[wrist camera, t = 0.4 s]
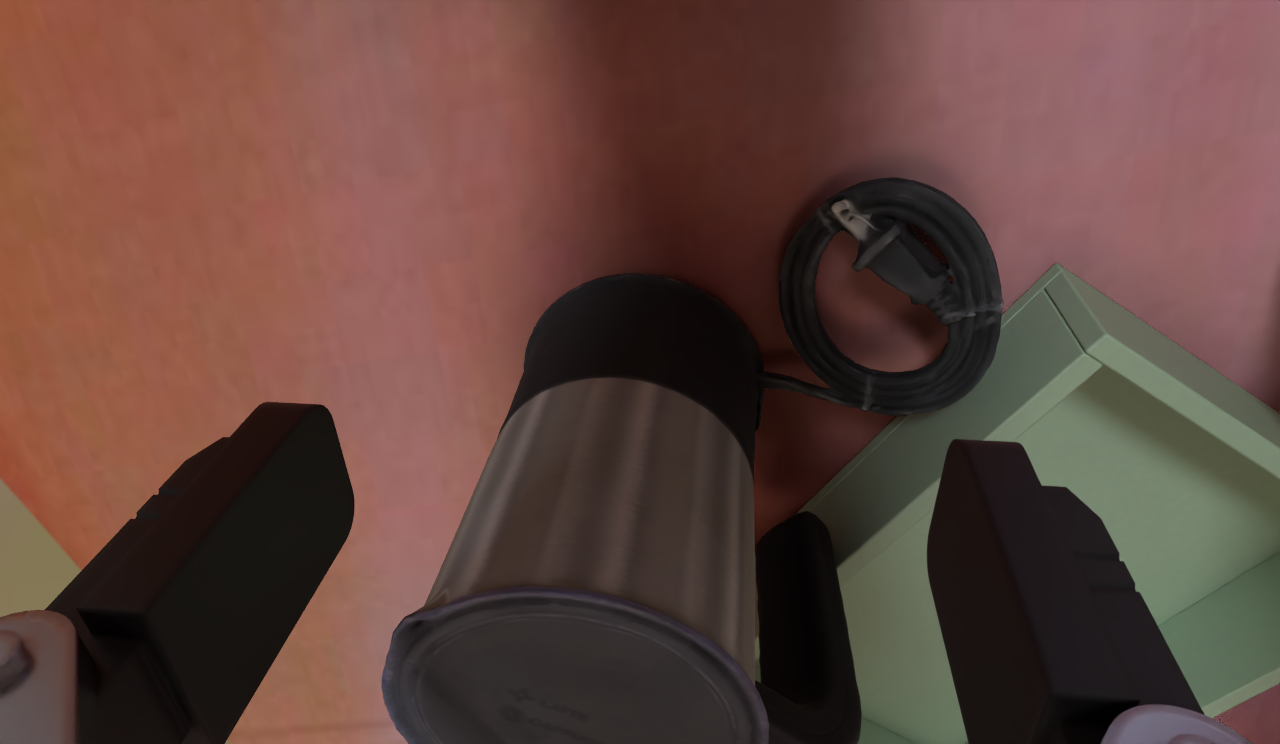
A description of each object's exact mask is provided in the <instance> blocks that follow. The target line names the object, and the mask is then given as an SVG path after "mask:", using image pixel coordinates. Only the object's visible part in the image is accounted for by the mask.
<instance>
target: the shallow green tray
mask: <svg viewBox="0 0 1280 744" xmlns="http://www.w3.org/2000/svg"><path fill="white" fill-rule="evenodd" d="M954 439H966V440H986V441H1005V442H1019V443H1020V444H1021V445H1022V446H1023V447H1024V449H1025V451H1026V453H1027V455H1028V457H1029V459H1030V461H1031V463H1032V466H1033V468H1034V470H1035V472H1036V474H1037V476H1038V479H1039V481H1040V483H1041V485H1042V486H1058V487H1067V488H1068V489H1069V490H1070V491H1071V492H1072V493H1074V494H1075V495H1076V496H1077V497H1078V498H1079V499H1080V500H1081V501H1082V502H1083V503H1085V504H1086V505H1087V506H1088V507H1089V508H1090V509H1091V510H1092V511H1093V512H1094V513H1096V514H1097V515H1098V516H1099V517H1100V518H1101V519H1102V521H1103V523H1104V525H1105V527H1106V529H1107V531H1108V533H1109V535H1110V536H1111V538H1112V540H1113V542H1114V544H1115V546H1116V548H1117V550H1118V552H1119V554H1120V555H1119V559H1120V561H1124V563H1125V565H1126V567H1127V569H1128V571H1129V572H1130V574H1131V576H1132V578H1133V580H1134V582H1135V590H1136V592H1140V593H1141V595H1142V597H1143V599H1144V601H1145V603H1146V605H1147V607H1148V608H1149V610H1150V612H1151V614H1152V616H1153V618H1154V620H1155V622H1156V624H1157V626H1158V627H1159V629H1160V631H1161V633H1162V635H1163V637H1164V639H1165V641H1166V643H1167V644H1168V646H1169V648H1170V650H1171V652H1172V654H1173V656H1174V658H1175V660H1176V662H1177V663H1178V665H1179V667H1180V669H1181V671H1182V673H1183V675H1184V677H1185V679H1186V681H1187V682H1188V684H1189V686H1190V688H1191V690H1192V692H1193V694H1194V696H1195V698H1196V699H1197V701H1198V703H1199V705H1200V707H1201V709H1202V710H1203V712H1204V714H1205V715H1206V716H1208V717H1210V718H1213V717H1215V716H1217V715H1219V714H1221V713H1223V712H1225V711H1227V710H1229V709H1231V708H1233V707H1235V706H1237V705H1239V704H1240V703H1242V702H1244V701H1246V700H1248V699H1250V698H1252V697H1254V696H1256V695H1258V694H1260V693H1262V692H1264V691H1266V690H1268V689H1270V688H1271V687H1273V686H1275V685H1277V684H1279V683H1280V414H1279V413H1278V412H1276V411H1275V410H1274V409H1272V408H1271V407H1269V406H1268V405H1266V404H1265V403H1263V402H1262V401H1260V400H1259V399H1257V398H1256V397H1254V396H1253V395H1251V394H1250V393H1248V392H1247V391H1245V390H1244V389H1243V388H1241V387H1240V386H1238V385H1237V384H1235V383H1234V382H1232V381H1231V380H1229V379H1228V378H1226V377H1225V376H1223V375H1222V374H1220V373H1219V372H1217V371H1216V370H1214V369H1213V368H1212V367H1210V366H1209V365H1207V364H1206V363H1204V362H1203V361H1201V360H1200V359H1198V358H1197V357H1195V356H1194V355H1192V354H1191V353H1189V352H1188V351H1186V350H1185V349H1183V348H1182V347H1181V346H1179V345H1178V344H1176V343H1175V342H1173V341H1172V340H1170V339H1169V338H1167V337H1166V336H1164V335H1163V334H1161V333H1160V332H1158V331H1157V330H1155V329H1154V328H1152V327H1151V326H1150V325H1148V324H1147V323H1145V322H1144V321H1142V320H1141V319H1139V318H1138V317H1136V316H1135V315H1133V314H1132V313H1130V312H1129V311H1127V310H1126V309H1124V308H1123V307H1122V306H1120V305H1119V304H1117V303H1116V302H1114V301H1113V300H1111V299H1110V298H1108V297H1107V296H1105V295H1104V294H1102V293H1101V292H1099V291H1098V290H1096V289H1095V288H1093V287H1092V286H1091V285H1089V284H1088V283H1086V282H1085V281H1083V280H1082V279H1080V278H1079V277H1077V276H1076V275H1074V274H1073V273H1071V272H1070V271H1068V270H1067V269H1065V268H1064V267H1062V266H1061V265H1060V264H1057V263H1056V264H1054V265H1053V266H1052V267H1051V268H1050V269H1049V270H1048V271H1047V272H1046V273H1045V274H1044V275H1043V276H1042V277H1041V278H1040V279H1039V280H1038V281H1037V282H1036V283H1035V284H1034V285H1033V286H1032V287H1031V288H1030V289H1028V290H1027V291H1026V292H1025V293H1024V294H1023V295H1022V296H1021V297H1020V298H1019V299H1018V300H1017V301H1016V302H1015V303H1014V304H1013V305H1012V306H1011V307H1010V308H1009V309H1008V310H1007V311H1006V312H1005V313H1004V314H1003V315H1002V317H1001V329H1000V337H999V340H998V344H997V348H996V353H995V356H994V359H993V361H992V363H991V365H990V367H989V368H988V369H987V370H986V372H985V375H984V376H983V377H982V379H981V380H980V381H979V383H978V384H977V385H976V386H975V387H974V388H973V390H971V391H970V392H969V393H968V394H967V395H965V396H964V397H963V398H961V399H959V400H958V401H956V402H955V403H953V404H951V405H949V406H947V407H945V408H942V409H939V410H935V411H931V412H927V413H921V414H913V415H905V416H897V417H896V418H895V419H893V420H892V421H891V422H890V423H889V424H888V425H887V426H886V427H885V428H884V429H883V430H882V431H881V432H880V433H879V434H878V435H877V436H876V437H875V438H874V439H873V440H872V441H871V442H870V443H869V444H868V445H866V446H865V447H864V448H863V449H862V450H861V451H860V452H859V453H858V454H857V455H856V456H855V457H854V458H853V459H852V460H851V461H850V462H849V463H848V464H847V465H846V466H845V467H844V468H843V469H842V470H841V471H839V472H838V473H837V474H836V475H835V476H834V477H833V478H832V479H831V480H830V481H829V482H828V483H827V484H826V485H825V486H824V487H823V488H822V489H821V490H820V491H819V492H818V493H817V494H816V495H815V496H814V497H812V498H811V499H810V500H809V501H808V502H807V503H806V504H805V505H804V506H803V507H802V508H801V509H800V510H799V511H798V512H797V513H801V512H804V511H809V512H811V513H813V514H815V515H816V516H817V517H818V518H819V519H820V520H821V521H822V522H823V523H824V524H825V525H826V527H827V528H828V531H829V533H830V537H831V541H832V546H833V551H834V556H835V561H836V568H837V573H838V578H839V585H840V590H841V594H842V599H843V605H844V611H845V616H846V621H847V627H848V633H849V639H850V645H851V650H852V655H853V660H854V668H855V675H856V681H857V686H858V690H859V695H860V701H861V711H862V717H861V731H860V739H859V741H858V743H857V744H969V743H968V739H967V735H966V731H965V727H964V723H963V719H962V714H961V710H960V706H959V702H958V698H957V694H956V690H955V686H954V682H953V678H952V673H951V669H950V665H949V661H948V657H947V653H946V649H945V645H944V641H943V637H942V632H941V628H940V624H939V620H938V616H937V612H936V608H935V604H934V600H933V595H932V591H931V587H930V583H929V577H928V569H927V541H928V533H929V528H930V524H931V519H932V515H933V510H934V506H935V502H936V497H937V493H938V489H939V484H940V480H941V475H942V471H943V467H944V462H945V458H946V454H947V450H948V447H949V445H950V443H951V442H952V440H954ZM797 513H796V514H797ZM796 514H795V515H796ZM757 602H758V594H757V586H756V555H755V680H756V681H758V682H761V677H760V664H759V655H760V649H759V637H758V636H759V617H758V611H757Z"/></svg>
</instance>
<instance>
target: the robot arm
mask: <svg viewBox="0 0 1280 744" xmlns="http://www.w3.org/2000/svg"><path fill="white" fill-rule="evenodd" d="M353 517H354V494H353V490H352V486H351V482H350V479H349V475H348V472H347V468H346V464H345V461H344V457H343V454H342V450H341V446H340V443H339V439H338V435H337V432H336V428H335V425H334V421H333V418H332V415H331V413H330V412H329V410H328V409H327V408H326V407H325V406H323V405H318V404H298V403H279V402H265V403H262V404H261V405H259V406H258V407H257V408H256V409H255V410H254V411H253V412H252V413H251V414H250V415H249V417H248V418H247V419H246V420H245V421H244V422H243V423H242V424H241V425H240V426H239V428H238V429H237V430H236V431H235V432H234V433H233V434H232V435H231V436H230V438H229V437H223V438H221V439H219V440H218V441H216V442H215V443H213V444H211V445H210V446H208V447H207V448H205V449H204V450H202V451H200V452H199V453H197V454H196V455H194V456H192V457H191V458H189V459H188V460H186V461H185V462H184V463H183V464H182V465H181V466H180V467H179V468H178V469H177V470H176V471H175V472H174V473H173V475H172V476H171V477H170V478H169V479H168V480H167V481H166V482H165V483H164V484H163V485H162V486H161V487H160V488H159V494H158V495H153V496H152V497H151V498H150V499H149V500H148V501H147V502H146V503H145V504H144V505H143V506H142V507H141V508H140V510H139V511H138V512H137V517H136V519H130V520H129V521H128V522H127V523H126V524H125V525H124V526H123V528H122V529H121V530H120V531H119V532H118V533H117V534H116V535H115V536H114V537H113V538H112V539H111V540H110V541H109V542H108V543H107V545H106V546H105V547H104V548H103V549H102V550H101V551H100V552H99V553H98V554H97V555H96V556H95V557H94V558H93V559H92V560H91V561H90V563H89V564H88V565H87V566H86V567H85V568H84V569H83V570H82V571H81V572H80V573H79V574H78V575H77V576H76V577H75V579H74V580H73V581H72V582H71V583H70V584H69V585H68V586H67V587H66V588H65V589H64V590H63V591H62V592H61V593H60V594H59V595H58V596H57V598H56V599H55V600H54V601H53V602H52V603H51V604H50V605H49V606H48V607H47V608H46V609H45V610H32V611H24V612H18V613H13V614H10V615H7V616H3V617H0V744H225V742H226V740H227V739H228V737H229V735H230V734H231V732H232V730H233V729H234V727H235V725H236V724H237V722H238V720H239V718H240V717H241V715H242V713H243V712H244V710H245V708H246V707H247V705H248V703H249V702H250V700H251V698H252V697H253V695H254V693H255V692H256V690H257V688H258V687H259V685H260V683H261V682H262V680H263V678H264V677H265V675H266V673H267V672H268V670H269V668H270V667H271V665H272V663H273V662H274V660H275V658H276V657H277V655H278V653H279V652H280V650H281V648H282V647H283V645H284V643H285V642H286V640H287V638H288V636H289V635H290V633H291V631H292V630H293V628H294V626H295V625H296V623H297V621H298V620H299V618H300V616H301V615H302V613H303V611H304V610H305V608H306V606H307V605H308V603H309V601H310V600H311V598H312V596H313V595H314V593H315V591H316V590H317V588H318V586H319V585H320V583H321V581H322V580H323V578H324V576H325V575H326V573H327V571H328V570H329V568H330V566H331V565H332V563H333V561H334V560H335V558H336V556H337V554H338V553H339V551H340V549H341V548H342V546H343V544H344V543H345V541H346V539H347V537H348V535H349V532H350V530H351V526H352V522H353ZM1119 555H1120V554H1119V552H1118V550H1117V548H1116V546H1115V544H1114V542H1113V540H1112V538H1111V536H1110V535H1109V533H1108V531H1107V529H1106V527H1105V525H1104V523H1103V521H1102V519H1101V518H1100V517H1099V516H1098V515H1097V514H1096V513H1094V512H1093V511H1092V510H1091V509H1090V508H1089V507H1088V506H1087V505H1086V504H1085V503H1083V502H1082V501H1081V500H1080V499H1079V498H1078V497H1077V496H1076V495H1075V494H1074V493H1072V492H1071V491H1070V490H1069V489H1068V488H1067V487H1058V486H1042V485H1041V483H1040V481H1039V479H1038V476H1037V474H1036V472H1035V470H1034V468H1033V466H1032V463H1031V461H1030V459H1029V457H1028V455H1027V453H1026V451H1025V449H1024V447H1023V446H1022V445H1021V444H1020V443H1019V442H1005V441H986V440H966V439H954V440H952V442H951V443H950V445H949V447H948V450H947V454H946V458H945V462H944V467H943V471H942V475H941V480H940V484H939V489H938V493H937V497H936V502H935V506H934V510H933V515H932V519H931V524H930V528H929V533H928V541H927V569H928V577H929V583H930V587H931V591H932V595H933V600H934V604H935V608H936V612H937V616H938V620H939V624H940V628H941V632H942V637H943V641H944V645H945V649H946V653H947V657H948V661H949V665H950V669H951V673H952V678H953V682H954V686H955V690H956V694H957V698H958V702H959V706H960V710H961V714H962V719H963V723H964V727H965V731H966V735H967V739H968V743H969V744H1253V743H1251V742H1250V741H1248V740H1247V739H1246V738H1244V737H1243V736H1242V735H1240V734H1239V733H1238V732H1236V731H1234V730H1233V729H1231V728H1229V727H1228V726H1226V725H1224V724H1223V723H1221V722H1219V721H1216V720H1214V719H1212V718H1210V717H1208V716H1206V715H1205V714H1204V712H1203V710H1202V709H1201V707H1200V705H1199V703H1198V701H1197V699H1196V698H1195V696H1194V694H1193V692H1192V690H1191V688H1190V686H1189V684H1188V682H1187V681H1186V679H1185V677H1184V675H1183V673H1182V671H1181V669H1180V667H1179V665H1178V663H1177V662H1176V660H1175V658H1174V656H1173V654H1172V652H1171V650H1170V648H1169V646H1168V644H1167V643H1166V641H1165V639H1164V637H1163V635H1162V633H1161V631H1160V629H1159V627H1158V626H1157V624H1156V622H1155V620H1154V618H1153V616H1152V614H1151V612H1150V610H1149V608H1148V607H1147V605H1146V603H1145V601H1144V599H1143V597H1142V595H1141V593H1140V592H1136V590H1135V582H1134V580H1133V578H1132V576H1131V574H1130V572H1129V571H1128V569H1127V567H1126V565H1125V563H1124V561H1120V559H1119Z"/></svg>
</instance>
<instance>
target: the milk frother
mask: <svg viewBox="0 0 1280 744" xmlns="http://www.w3.org/2000/svg"><path fill="white" fill-rule="evenodd" d="M909 224H910V225H913V226H915V227H916V228H918V229H920V230H921V231H922V232H924V233H925V234H926V235H927V236H928V237H930V239H931V240H932V241H933V242H934V243H935V244H936V245H937V247H938V248H939V249H940V251H941V252H942V254H943V255H944V256H945V258H946V259H947V261H948V263H949V264H948V263H944V262H940V261H939V260H938V259H937V258H936V257H935V256H934V254H933V252H932V251H931V250H930V248H929V247H928V246H927V245H926V244H925V242H924V241H923V240H922V239H921V238H920V237H919V236H918V235H917V233H916V232H915V231H914V230H913V229H912V228H910V227H909ZM840 231H846V232H847V233H849V234H850V235H852V236H853V237H854V238H855V239H856V240H857V241H858V254H857V258H856V260H855V261H854V263H853V264H852V268H853V269H854V270H855V271H856V272H858V271H861V270H862V269H863V268H864V267H865V268H869V269H870V270H872V271H873V272H874V273H875V274H876V275H877V276H879V277H880V278H881V279H882V280H883V281H885V282H886V283H888V284H890V285H891V286H893V287H894V288H896V289H898V290H899V291H901V292H903V293H904V294H906V295H908V296H909V298H910V299H911V303H912V304H914V305H916V304H925V305H926V306H927V307H928V308H929V309H930V310H931V311H932V312H933V313H934V314H935V315H936V316H937V319H938V321H939V322H940V323H941V324H942V325H947V326H948V342H947V344H946V345H945V347H944V349H943V351H942V353H941V354H940V355H939V357H938V358H937V359H935V360H934V361H933V362H932V363H931V364H929V365H927V366H925V367H923V368H920V369H917V370H913V371H905V372H884V371H878V370H874V369H869V368H866V367H864V366H862V365H860V364H857V363H855V362H854V361H853V360H851V359H850V358H848V357H846V356H845V355H844V354H843V353H841V352H840V350H839V349H838V348H837V346H836V345H835V344H834V343H833V342H832V340H831V339H830V338H829V336H828V334H827V332H826V330H825V328H824V326H823V324H822V322H821V319H820V316H819V312H818V309H817V304H816V298H815V279H816V274H817V269H818V266H819V262H820V259H821V257H822V254H823V252H824V250H825V249H826V247H827V245H828V243H829V242H830V241H831V240H832V238H833V237H834V236H835V235H836V234H838V233H839V232H840ZM949 275H950V276H952V277H953V282H950V281H949V278H948V276H949ZM780 277H781V278H780V284H779V303H780V312H781V316H782V319H783V322H784V326H785V330H786V333H787V335H788V337H789V339H790V341H791V343H792V345H793V347H794V348H795V350H796V351H797V352H798V354H799V355H800V357H801V358H802V359H803V361H804V362H805V363H806V365H807V366H808V367H809V368H810V369H811V370H812V371H813V372H814V373H815V374H816V375H817V376H818V377H819V378H820V379H821V380H823V381H824V382H825V383H826V384H827V385H828V386H829V387H830V388H824V387H820V386H817V385H813V384H810V383H807V382H804V381H801V380H799V379H796V378H793V377H790V376H785V375H781V374H776V373H769V372H764V370H763V363H762V359H761V356H760V353H759V350H758V348H757V346H756V343H755V341H754V340H753V338H752V336H751V334H750V333H749V331H748V329H747V328H746V326H745V325H744V324H743V323H742V322H741V321H740V320H739V318H738V317H737V316H736V315H735V314H734V313H733V312H732V311H731V310H730V309H729V308H728V307H727V306H726V305H725V304H723V303H722V302H721V301H719V300H717V299H716V298H715V297H713V296H712V295H710V294H708V293H706V292H704V291H703V290H701V289H699V288H697V287H695V286H693V285H690V284H687V283H685V282H682V281H678V280H674V279H671V278H668V277H665V276H657V275H646V274H621V275H619V274H617V275H613V276H606V277H602V278H598V279H595V280H593V281H591V282H587V283H584V284H582V285H580V286H579V287H577V288H575V289H573V290H571V291H569V292H567V293H566V294H565V295H563V296H562V297H561V298H559V299H558V300H557V301H556V302H555V303H554V304H552V305H551V306H550V307H549V308H548V309H547V310H546V312H545V313H544V314H543V315H542V317H541V318H540V319H539V321H538V322H537V324H536V326H535V328H534V330H533V333H532V334H531V336H530V339H529V342H528V345H527V348H526V353H525V362H524V372H523V375H522V378H521V380H520V383H519V386H518V389H517V391H516V394H515V396H514V399H513V402H512V405H511V407H510V410H509V412H508V415H507V417H506V419H505V421H504V424H503V425H502V427H501V430H500V432H499V435H498V438H497V441H496V443H495V445H494V447H493V449H492V451H491V453H490V455H489V458H488V460H487V462H486V464H485V467H484V469H483V471H482V474H481V476H480V478H479V481H478V483H477V485H476V488H475V490H474V492H473V495H472V497H471V499H470V502H469V504H468V506H467V509H466V511H465V513H464V516H463V518H462V520H461V523H460V525H459V527H458V530H457V532H456V534H455V537H454V539H453V541H452V544H451V546H450V548H449V551H448V553H447V555H446V557H445V560H444V562H443V564H442V567H441V569H440V571H439V574H438V576H437V578H436V580H435V583H434V585H433V587H432V590H431V592H430V594H429V596H428V599H427V601H426V603H425V605H424V607H422V608H420V609H419V610H417V611H415V612H414V613H412V614H410V615H408V616H406V617H404V619H403V620H402V621H401V622H400V623H399V625H398V626H397V628H396V629H395V630H394V632H393V635H392V640H391V645H390V649H389V652H388V654H387V658H386V663H385V667H384V670H383V675H382V691H383V698H384V701H385V704H386V707H387V710H388V713H389V716H390V718H391V719H392V721H393V722H394V724H395V726H396V729H397V730H398V731H399V732H400V733H401V735H402V736H403V737H404V738H405V739H406V741H407V742H408V743H409V744H857V743H858V741H859V739H860V731H861V717H862V711H861V701H860V695H859V690H858V686H857V681H856V675H855V668H854V660H853V655H852V650H851V645H850V639H849V633H848V627H847V621H846V616H845V611H844V605H843V599H842V594H841V590H840V585H839V578H838V573H837V568H836V561H835V556H834V551H833V546H832V541H831V537H830V533H829V531H828V528H827V527H826V525H825V524H824V523H823V522H822V521H821V520H820V519H819V518H818V517H817V516H816V515H815V514H813V513H811V512H809V511H804V512H801V513H797V514H796V515H794V516H793V517H791V518H788V519H787V520H785V521H784V522H782V523H780V524H778V525H777V526H775V527H774V528H772V529H771V530H770V531H768V532H767V533H766V534H765V535H764V536H763V537H762V538H761V539H760V541H759V542H758V544H757V546H756V552H755V536H754V453H755V431H756V430H757V429H758V428H759V426H760V421H761V410H762V401H763V394H764V389H765V388H770V389H781V390H788V391H793V392H798V393H802V394H806V395H809V396H813V397H817V398H820V399H824V400H828V401H831V402H834V403H837V404H839V405H843V406H848V407H853V408H857V409H860V410H862V411H871V412H874V413H878V414H884V415H892V416H905V415H913V414H921V413H927V412H931V411H935V410H939V409H942V408H945V407H947V406H949V405H951V404H953V403H955V402H956V401H958V400H959V399H961V398H963V397H964V396H965V395H967V394H968V393H969V392H970V391H971V390H973V388H974V387H975V386H976V385H977V384H978V383H979V381H980V380H981V379H982V377H983V376H984V375H985V372H986V370H987V369H988V368H989V367H990V365H991V363H992V361H993V359H994V356H995V353H996V348H997V344H998V340H999V337H1000V329H1001V317H1002V308H1003V305H1004V302H1003V300H1002V297H1001V284H1000V279H999V274H998V269H997V264H996V261H995V257H994V254H993V251H992V249H991V247H990V244H989V242H988V240H987V238H986V236H985V234H984V232H983V231H982V229H981V228H980V226H979V225H978V223H977V221H976V220H975V219H974V218H973V217H972V216H971V215H970V214H969V212H968V211H967V210H966V209H965V208H963V207H962V206H961V205H960V204H959V203H958V202H956V201H955V200H954V199H953V198H951V197H950V196H948V195H947V194H945V193H944V192H942V191H940V190H938V189H936V188H934V187H931V186H929V185H926V184H923V183H920V182H917V181H913V180H908V179H903V178H880V179H874V180H869V181H865V182H861V183H858V184H856V185H853V186H851V187H849V188H846V189H844V190H842V191H840V192H839V193H837V194H835V195H834V196H832V197H831V198H829V199H828V200H827V201H825V202H824V203H823V204H822V205H820V206H819V207H818V208H817V209H816V210H815V211H814V212H813V214H812V215H811V216H810V217H809V219H808V220H807V221H806V222H805V223H804V224H803V226H802V227H801V229H800V230H799V231H798V232H797V233H796V234H795V236H794V237H793V239H792V240H791V242H790V244H789V246H788V248H787V250H786V253H785V255H784V259H783V262H782V265H781V270H780ZM755 555H756V586H757V594H758V602H757V611H758V617H759V636H758V637H759V649H760V655H759V664H760V677H761V682H758V681H756V680H755Z"/></svg>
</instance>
